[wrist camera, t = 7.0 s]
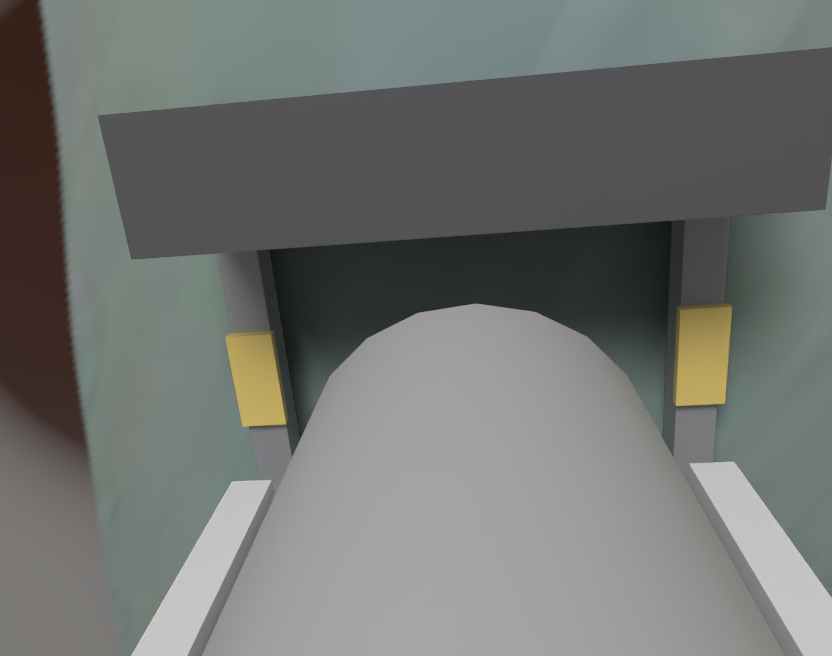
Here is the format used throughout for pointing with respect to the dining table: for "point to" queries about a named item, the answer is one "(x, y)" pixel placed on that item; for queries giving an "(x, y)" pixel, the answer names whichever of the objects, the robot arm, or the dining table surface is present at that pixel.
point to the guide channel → (482, 193)
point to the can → (485, 511)
